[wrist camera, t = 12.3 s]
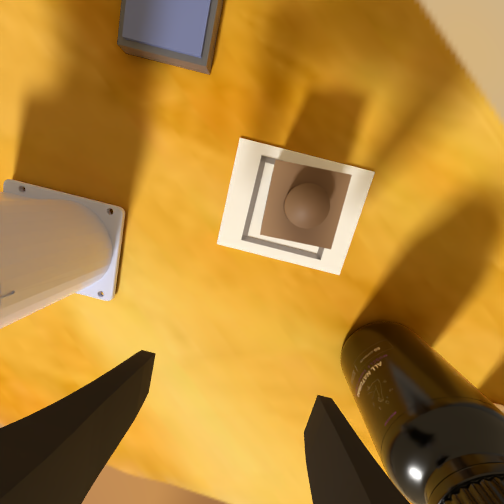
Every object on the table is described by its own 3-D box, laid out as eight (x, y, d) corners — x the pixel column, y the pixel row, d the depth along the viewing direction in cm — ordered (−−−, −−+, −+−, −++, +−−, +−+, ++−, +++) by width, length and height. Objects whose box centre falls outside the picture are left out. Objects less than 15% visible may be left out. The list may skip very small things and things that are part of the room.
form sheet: (217, 243, 19) (216, 244, 19) (240, 138, 17) (239, 137, 17) (338, 274, 19) (339, 275, 19) (374, 172, 17) (375, 171, 17)
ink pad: (125, 53, 16) (115, 42, 15) (137, -53, 15) (127, -74, 14) (209, 74, 16) (205, 64, 15) (228, -30, 15) (225, -49, 14)
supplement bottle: (333, 324, 20) (430, 501, 8) (418, 312, 19) (655, 484, 8) (342, 394, 21) (437, 630, 10) (422, 384, 21) (628, 625, 9)
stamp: (261, 225, 18) (259, 237, 12) (272, 171, 17) (276, 155, 11) (312, 235, 18) (336, 253, 12) (326, 182, 17) (359, 172, 11)
